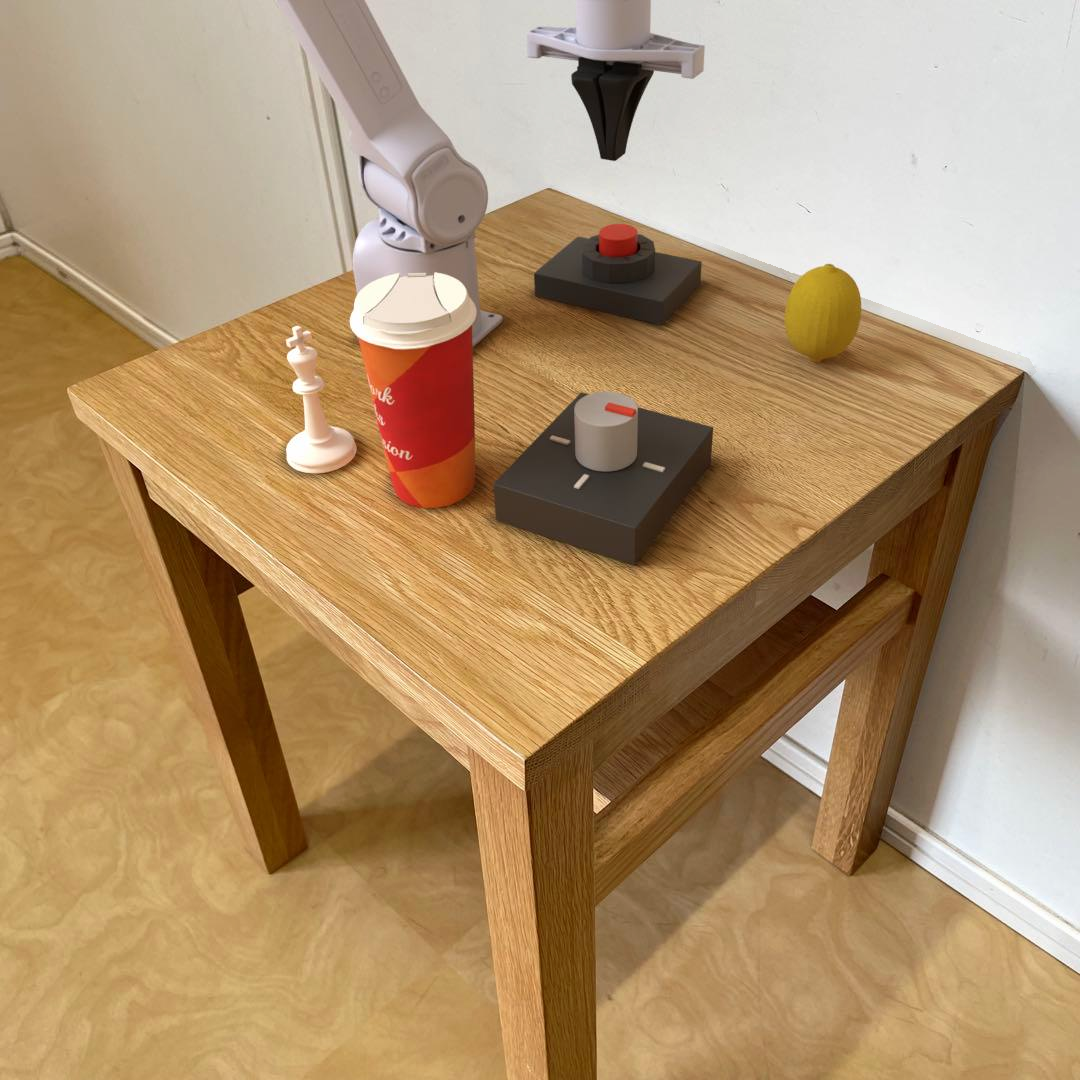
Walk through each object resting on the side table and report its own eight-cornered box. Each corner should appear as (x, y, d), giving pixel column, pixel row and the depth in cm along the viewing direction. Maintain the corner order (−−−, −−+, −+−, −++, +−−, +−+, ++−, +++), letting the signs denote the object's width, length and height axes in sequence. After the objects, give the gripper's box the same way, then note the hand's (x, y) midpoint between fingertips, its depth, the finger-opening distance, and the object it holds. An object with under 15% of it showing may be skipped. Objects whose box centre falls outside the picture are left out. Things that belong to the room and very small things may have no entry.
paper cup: (386, 451, 79) (357, 268, 70) (494, 449, 78) (479, 265, 69) (369, 520, 73) (335, 330, 64) (486, 519, 72) (469, 327, 63)
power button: (592, 255, 93) (592, 235, 92) (609, 240, 95) (609, 221, 94) (626, 262, 92) (627, 242, 91) (643, 247, 94) (643, 227, 93)
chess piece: (273, 453, 79) (244, 328, 73) (331, 425, 81) (307, 302, 75) (312, 482, 76) (285, 355, 70) (370, 452, 79) (349, 326, 72)
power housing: (534, 296, 96) (532, 253, 93) (578, 258, 101) (577, 216, 98) (662, 325, 91) (663, 280, 88) (700, 284, 96) (703, 241, 94)
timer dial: (564, 462, 72) (563, 412, 69) (591, 430, 74) (591, 381, 72) (621, 478, 70) (621, 428, 68) (646, 445, 73) (648, 395, 70)
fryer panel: (495, 520, 72) (492, 481, 70) (581, 427, 80) (581, 389, 78) (634, 566, 68) (635, 526, 66) (711, 463, 76) (713, 424, 74)
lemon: (853, 382, 83) (869, 284, 78) (778, 377, 84) (789, 280, 79) (852, 345, 87) (868, 250, 82) (780, 340, 88) (791, 246, 83)
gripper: (724, -28, 83) (713, 152, 92) (554, -43, 89) (559, 127, 98) (686, -5, 79) (678, 182, 87) (509, -22, 84) (518, 155, 93)
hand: (612, 156), depth 92 cm, fingers closed
